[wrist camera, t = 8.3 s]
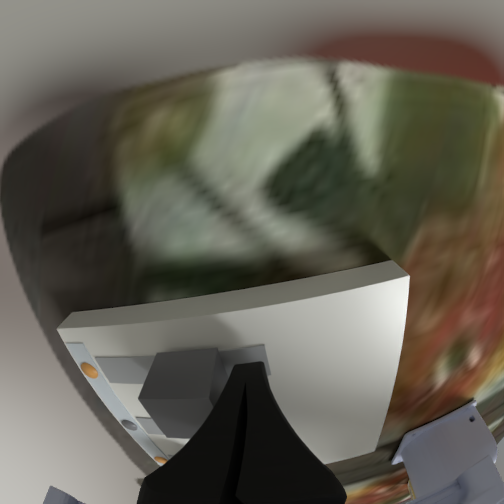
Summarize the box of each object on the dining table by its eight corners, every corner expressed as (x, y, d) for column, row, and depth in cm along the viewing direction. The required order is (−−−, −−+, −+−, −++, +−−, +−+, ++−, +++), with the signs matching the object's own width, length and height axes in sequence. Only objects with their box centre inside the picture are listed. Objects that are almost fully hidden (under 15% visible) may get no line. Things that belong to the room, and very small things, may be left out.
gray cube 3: (217, 347, 11) (209, 398, 9) (233, 390, 12) (229, 438, 10) (156, 352, 12) (137, 398, 9) (178, 393, 13) (166, 437, 10)
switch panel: (392, 260, 12) (411, 277, 11) (369, 435, 18) (375, 452, 16) (72, 312, 14) (54, 330, 12) (169, 456, 19) (165, 472, 17)
